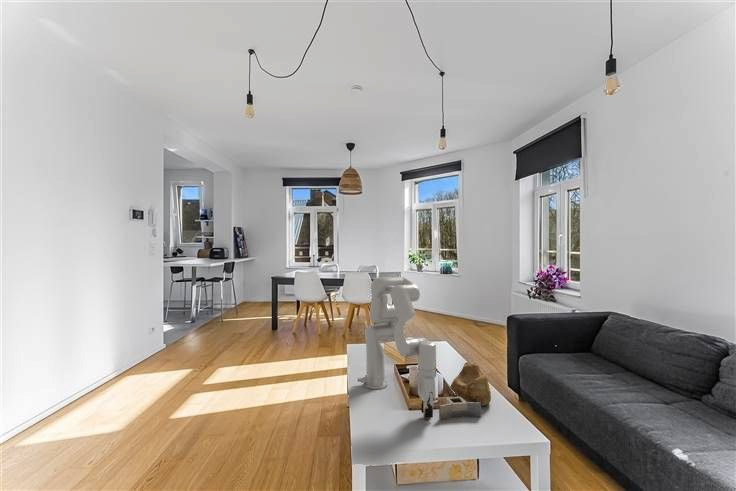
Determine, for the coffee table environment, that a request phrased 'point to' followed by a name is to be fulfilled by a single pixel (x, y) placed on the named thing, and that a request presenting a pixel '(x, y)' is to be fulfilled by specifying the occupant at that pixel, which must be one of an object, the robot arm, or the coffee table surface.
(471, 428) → the coffee table surface
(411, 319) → the robot arm
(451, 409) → the hinge
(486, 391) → the rough brown rock
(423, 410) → the hinge pin
